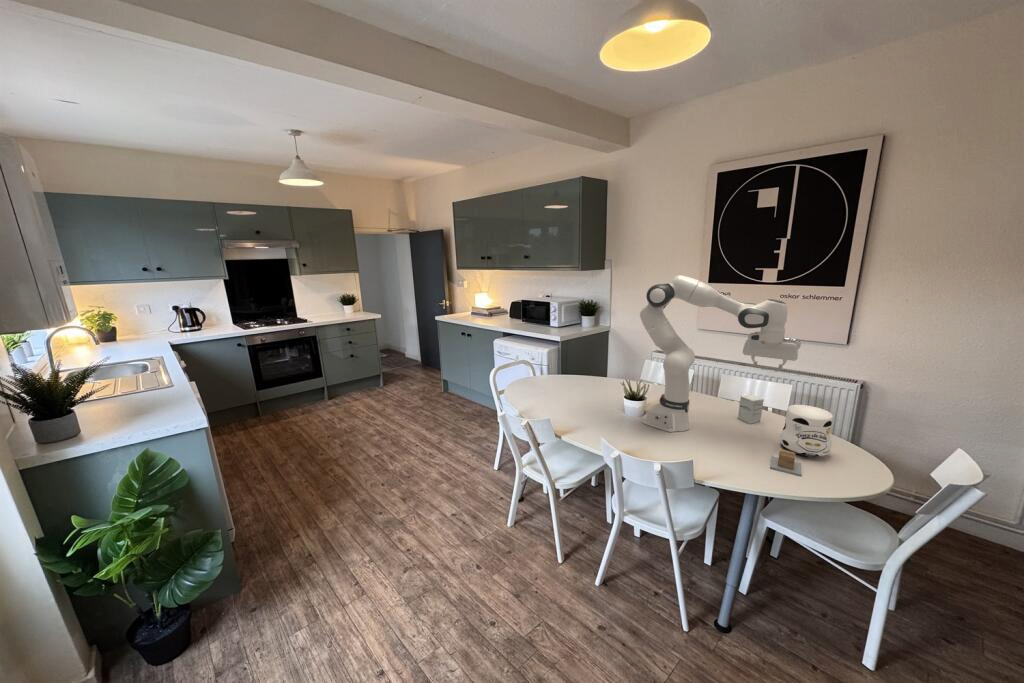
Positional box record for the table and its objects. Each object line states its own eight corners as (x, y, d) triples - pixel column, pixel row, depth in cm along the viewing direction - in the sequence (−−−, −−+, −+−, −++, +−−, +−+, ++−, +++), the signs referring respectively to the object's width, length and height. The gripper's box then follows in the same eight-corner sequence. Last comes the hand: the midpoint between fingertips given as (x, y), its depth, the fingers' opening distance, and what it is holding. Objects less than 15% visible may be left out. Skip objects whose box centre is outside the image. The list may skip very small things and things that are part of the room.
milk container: (808, 463, 155) (815, 422, 151) (769, 444, 171) (775, 406, 167) (839, 456, 160) (847, 416, 156) (798, 438, 176) (804, 401, 172)
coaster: (769, 468, 152) (770, 466, 152) (771, 457, 160) (771, 455, 160) (801, 476, 146) (801, 474, 146) (800, 464, 154) (801, 463, 154)
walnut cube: (778, 460, 156) (779, 449, 155) (793, 463, 154) (795, 452, 152) (777, 465, 152) (779, 454, 151) (793, 469, 150) (795, 458, 148)
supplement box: (737, 418, 198) (740, 395, 195) (748, 416, 200) (751, 393, 197) (749, 424, 191) (752, 400, 188) (761, 422, 193) (764, 398, 190)
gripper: (801, 338, 163) (796, 369, 166) (745, 333, 175) (742, 362, 178) (801, 340, 158) (796, 372, 161) (744, 335, 170) (740, 365, 173)
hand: (767, 367), depth 170 cm, fingers open, 8 cm apart
